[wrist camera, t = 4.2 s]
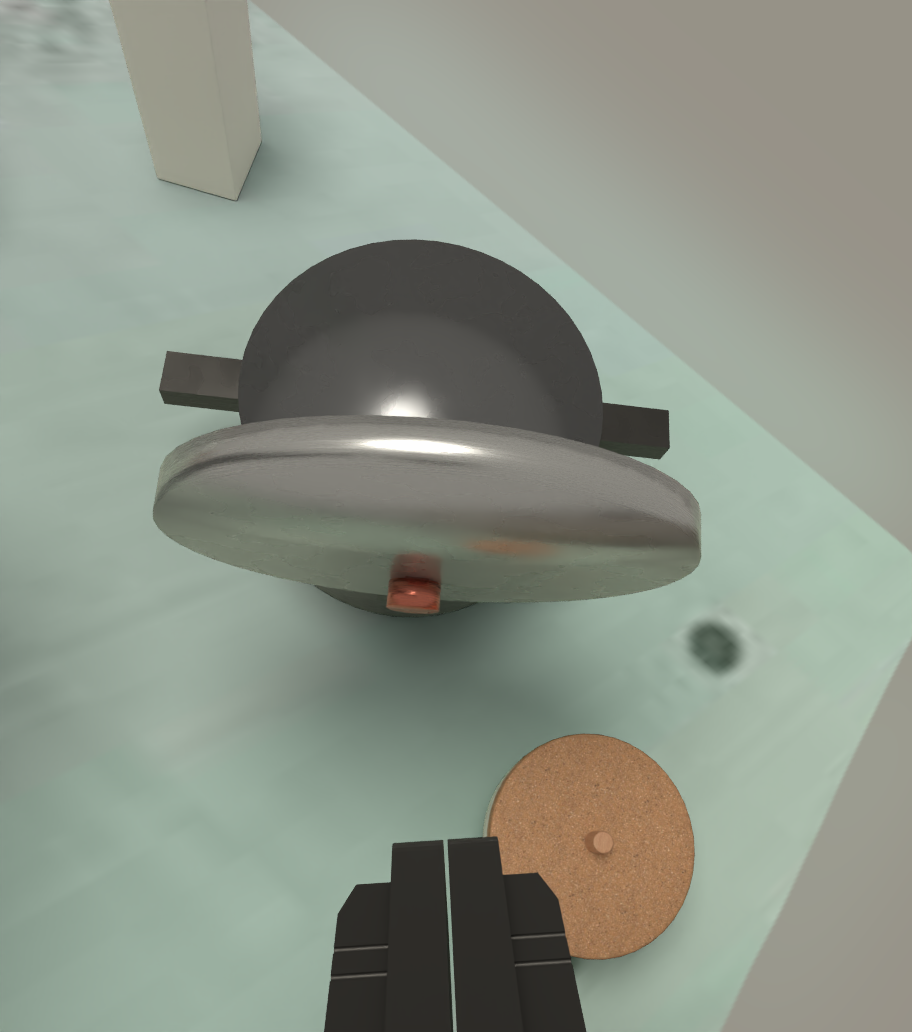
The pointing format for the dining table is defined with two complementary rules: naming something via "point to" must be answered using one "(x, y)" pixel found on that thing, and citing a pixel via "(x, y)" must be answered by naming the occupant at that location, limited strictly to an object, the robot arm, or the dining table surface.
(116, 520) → the dining table surface
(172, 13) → the milk
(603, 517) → the lid
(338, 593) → the cooker pot
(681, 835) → the lidded jar
